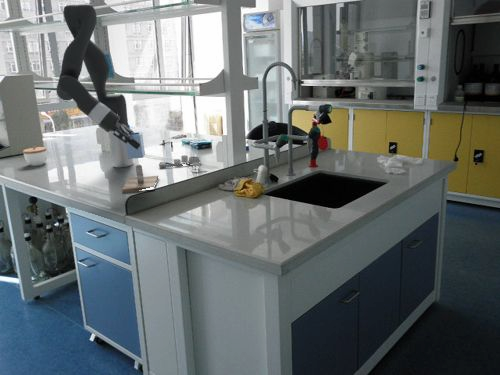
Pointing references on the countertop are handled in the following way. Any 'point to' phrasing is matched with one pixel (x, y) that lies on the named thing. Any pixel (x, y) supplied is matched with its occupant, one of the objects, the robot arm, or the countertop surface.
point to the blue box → (131, 150)
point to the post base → (139, 186)
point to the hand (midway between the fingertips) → (139, 145)
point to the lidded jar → (35, 155)
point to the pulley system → (184, 158)
